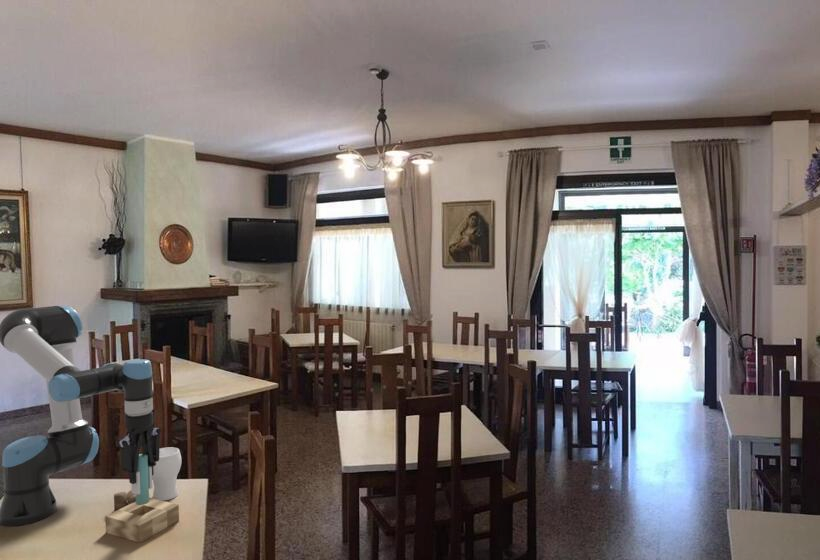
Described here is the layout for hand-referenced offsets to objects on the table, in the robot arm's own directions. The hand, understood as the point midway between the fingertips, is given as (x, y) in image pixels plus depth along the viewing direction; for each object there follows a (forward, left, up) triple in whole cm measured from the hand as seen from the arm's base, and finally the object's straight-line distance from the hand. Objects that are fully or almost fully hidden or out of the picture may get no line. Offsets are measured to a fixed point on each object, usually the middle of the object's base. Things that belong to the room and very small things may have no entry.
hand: (142, 490), depth 166 cm
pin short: (-16, +5, -11) cm, 20 cm away
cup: (-11, +18, -11) cm, 24 cm away
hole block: (0, 0, -11) cm, 11 cm away
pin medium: (-12, +7, -9) cm, 17 cm away
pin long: (0, 0, -4) cm, 4 cm away
